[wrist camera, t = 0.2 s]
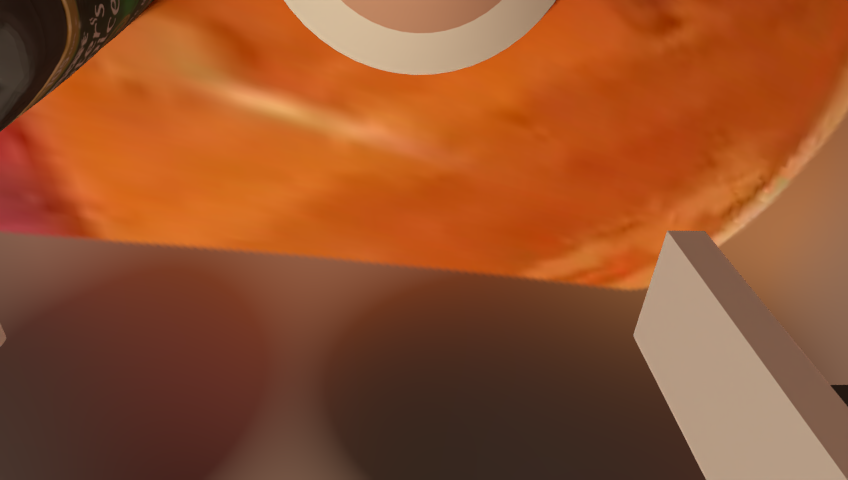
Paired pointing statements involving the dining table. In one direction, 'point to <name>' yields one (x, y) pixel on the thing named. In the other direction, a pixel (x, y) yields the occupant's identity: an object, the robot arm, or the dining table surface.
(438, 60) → the trivet
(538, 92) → the dining table surface
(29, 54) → the coffee jar
